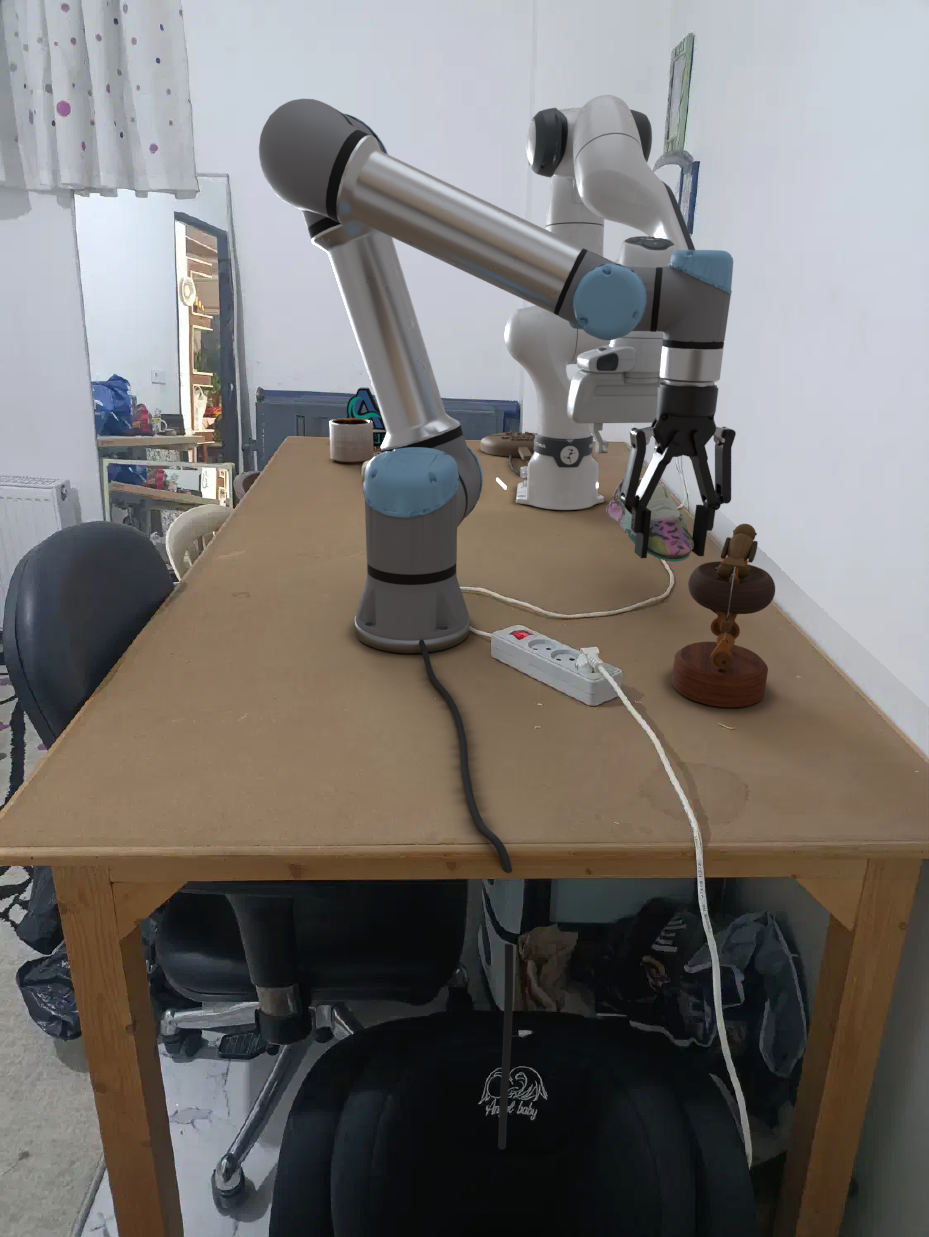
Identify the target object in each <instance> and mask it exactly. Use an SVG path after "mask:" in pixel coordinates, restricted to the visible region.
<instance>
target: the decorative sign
mask: <svg viewBox="0 0 929 1237" xmlns="http://www.w3.org/2000/svg"><path fill="white" fill-rule="evenodd" d="M364 407H365V410H366V411H362V410H363V408H364ZM345 418H362V419H368V420H371V421H372V425H373V446H374V445H375V446H377V445H378V446H381V445H382V443H383V441H384V438H385V436H386V432H387V431H386V428H385V425H384V422H383V419H382V416H381V413H380V410H379V407H378V404H377V401H376V399H375V398H374V396H373V393H372V391H371V389H370V387H365V386H363V387H362V386H361V387H359V388H358V389H357V391H356V392H355V394H353V395H352V396H351V397H350V398H349V399H348V401H347V405H346V417H345ZM329 443H330V440H329Z"/></svg>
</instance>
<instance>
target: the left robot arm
mask: <svg viewBox="0 0 929 1237" xmlns="http://www.w3.org/2000/svg"><path fill="white" fill-rule="evenodd" d="M267 118H268V119H267V120H266V122H265V123H264V125H263V127H262V130H261V133H260V136H259V144H258V157H259V165H260V168H261V171H262V174H263V177H264V178H265V181H266V183H267V184H268V186H269V187H270V190H272V191H273V192H274V194H275V195H276V196H277V197H278V198H279V199H280V200H281V201H282V202H284V203H286V204H287V205H289V206H290V207H293V208H295V209H297V210H300V211H301V213H302V216H303V219H304V223H305V226H306V228H307V232H308V234H309V238H310V240H311V243H312V245H315V246H316V247H318V248H320V249H322V250H323V251H325V252H326V253H327V255H328V257H329V260H330V263H331V266H332V269H333V272H334V275H335V278H336V281H337V285H338V288H339V291H340V293H341V297H342V300H343V303H344V306H345V310H346V313H347V315H348V318H349V321H350V324H351V327H352V330H353V334H354V336H355V339H356V343H357V345H358V349H359V351H360V355H361V358H362V360H363V365H364V366H365V370H366V374H367V377H368V380H369V383H370V385H371V389H372V391H373V395H374V397H375V398H374V399H375V402H376V404H377V406H378V408H379V410H380V413H381V416H382V419H383V422H384V425H385V428H386V431H387V432H386V436H385V438H384V441H383V443H382V445H380V451H381V453H379V454H377V455H374V457H373V459H371V460H370V462H369V463H368V465H367V466H366V470H365V481H364V482H363V489H362V493H363V497H364V517H365V518H364V520H365V545H366V546H365V548H366V579H365V584H364V586H363V589H362V592H361V596H360V600H359V602H358V606H357V609H356V612H355V615H354V633H355V636H356V638H357V639H358V640H359V641H360V642H362V643H363V644H365V645H367V646H368V647H371V648H374V649H377V650H380V651H384V652H390V653H396V654H397V653H398V654H421V655H422V658H423V661H424V666H425V670H426V673H427V676H428V678H429V680H430V682H431V683H432V684H433V686H434V687H435V688H436V690H437V691H438V692H439V694H441V695H442V697H443V698H444V699H445V701H446V703H447V705H448V706H449V708H450V711H451V713H452V716H453V719H454V723H455V725H456V730H457V736H458V740H459V749H460V769H461V777H462V778H461V779H462V782H463V788H464V794H465V799H466V803H467V806H468V811H469V814H470V816H471V818H472V820H473V822H474V825H475V826H476V828H477V830H478V831H479V833H481V834H482V836H484V837H485V838H486V839H487V840H488V841H489V842H490V843H491V844H492V845H493V846H494V848H495V850H496V851H497V854H498V857H499V859H500V863H501V865H502V866H501V867H502V870H503V872H504V873H506V874H511V873H512V871H513V868H512V863H511V859H510V857H509V854H508V851H507V848H506V846H505V845H504V843H503V841H502V840H501V839H500V838H499V837H498V836H497V835H496V834H495V833H494V832H493V831H492V830H490V829H489V827H487V825H486V824H485V822H484V820H483V818H482V816H481V814H480V812H479V810H478V806H477V804H476V803H477V802H476V800H475V797H474V791H473V785H472V781H471V775H470V772H469V759H468V744H467V737H466V732H465V727H464V724H463V718H462V716H461V714H460V711H459V708H458V705H457V704H456V701H455V700H454V699H453V697H452V696H451V694H450V693H449V692H448V690H447V689H446V688H445V687H444V686H443V685H442V683H441V682H440V681H439V679H438V678H437V676H436V673H435V672H434V670H433V667H432V663H431V657H430V656H429V653H433V652H439V651H443V650H446V649H449V648H452V647H455V646H457V645H458V644H460V643H462V642H463V641H464V640H466V639H467V637H468V636H469V634H470V615H469V612H468V608H467V606H466V601H465V599H464V596H463V593H462V589H461V586H460V583H459V581H458V577H457V561H458V560H457V559H458V558H457V557H458V556H457V554H458V528H459V526H461V524H462V522H463V521H464V520H465V519H466V518H467V517H468V516H469V515H470V514H471V513H472V512H473V511H474V509H475V508H476V505H477V504H478V501H479V500H480V497H481V493H482V489H483V481H484V480H483V479H484V477H483V470H482V466H481V463H480V460H479V458H478V457H477V455H476V453H475V452H474V451H473V450H472V449H471V448H470V447H469V446H468V444H467V441H466V438H465V435H464V432H463V428H462V425H461V422H460V420H457V419H455V418H454V417H451V416H450V415H448V414H447V413H446V409H445V406H444V402H443V400H442V396H441V393H440V390H439V387H438V383H437V379H436V377H435V373H434V370H433V366H432V364H431V360H430V357H429V353H428V351H427V347H426V344H425V340H424V338H423V334H422V330H421V327H420V323H419V320H418V317H417V314H416V311H415V307H414V305H413V301H412V298H411V294H410V291H409V288H408V284H407V281H406V278H405V274H404V271H403V267H402V265H401V262H400V258H399V255H398V251H397V248H396V245H395V241H394V239H395V240H397V241H399V242H401V243H403V244H405V245H407V246H410V247H412V248H414V249H416V250H418V251H420V252H422V253H424V254H427V255H429V256H430V257H433V258H434V259H437V260H440V261H441V262H443V263H446V264H447V265H450V266H452V267H454V268H456V269H458V270H461V271H463V272H464V273H467V274H469V275H470V276H473V277H475V278H477V279H479V280H482V281H484V282H486V283H488V284H490V285H492V286H495V287H496V288H498V289H500V290H503V291H505V292H506V293H509V294H511V295H513V296H515V297H517V298H519V299H522V300H524V301H526V302H528V303H530V304H531V305H533V306H538V307H541V308H543V309H545V310H547V311H549V312H551V313H553V314H555V315H557V316H559V317H561V318H563V319H565V320H567V321H569V324H570V326H571V327H572V328H575V329H583V330H584V331H585V332H586V333H587V334H589V335H591V336H593V337H596V338H599V339H602V340H614V339H617V338H620V337H623V336H625V335H627V334H629V333H630V332H631V331H651V332H656V331H658V332H663V342H662V345H663V346H662V352H661V362H660V372H659V377H660V378H661V379H663V382H662V383H660V385H658V390H657V400H656V415H655V419H654V421H653V423H650V426H646V427H642V428H637V427H632V428H631V429H630V430H629V438H630V448H629V453H628V457H627V462H626V466H625V470H624V475H623V478H624V479H623V478H622V479H623V483H622V488H621V492H620V496H619V499H620V501H622V502H623V503H624V504H625V505H627V506H631V507H632V518H631V529H632V531H633V532H635V533H636V541H635V544H634V554H636V555H637V556H638V558H640V559H647V558H648V553H647V549H648V540H649V530H650V521H651V511H650V510H649V509H648V508H646V507H647V505H648V503H649V501H650V499H651V497H652V495H653V493H654V491H655V489H656V487H657V485H658V484H659V482H660V481H661V478H662V476H663V475H664V472H665V470H666V468H667V466H668V465H669V464H670V463H671V462H672V460H673V458H679V457H682V456H684V457H689V458H688V459H690V462H691V465H692V469H693V472H694V477H695V480H696V485H697V487H698V491H699V494H700V499H701V503H702V504H696V505H695V512H694V518H693V528H692V535H691V537H692V539H693V541H694V547H693V549H692V551H691V553H693V554H695V555H696V556H697V557H704V556H705V549H706V544H707V543H706V542H707V534H708V532H711V531H712V530H713V529H714V524H715V517H716V511H718V510H719V509H720V508H721V506H722V505H724V504H726V505H727V504H730V503H731V501H732V447H733V445H734V441H735V439H736V435H737V433H736V430H734V429H732V428H729V427H727V426H717V424H716V422H715V414H716V412H717V404H718V396H719V387H718V385H717V384H715V383H716V382H717V383H718V381H720V379H721V373H722V365H723V356H724V346H725V340H726V332H727V325H728V319H729V312H730V304H731V296H732V292H733V290H732V284H733V271H734V258H733V256H732V254H731V253H730V252H728V251H726V250H720V249H695V250H676V251H674V252H673V254H672V256H671V261H670V262H669V266H668V267H663V268H662V267H657V268H648V267H625V266H623V265H621V264H617V263H615V261H613V260H610V259H608V258H606V257H604V256H603V257H602V256H600V255H598V254H596V253H594V252H591V251H589V250H586V249H584V248H583V247H581V246H579V245H577V244H575V243H573V242H571V241H568V240H566V239H564V238H562V237H560V236H558V235H556V234H554V233H552V232H550V231H547V230H545V228H543V227H541V226H539V225H537V224H535V223H533V222H531V221H528V220H527V219H524V218H522V217H521V216H518V215H516V214H514V213H512V212H510V211H507V210H505V209H503V208H501V207H500V206H497V205H495V204H494V203H491V202H489V201H487V200H485V199H482V198H480V197H478V196H476V195H473V194H471V193H469V192H468V191H465V190H463V189H461V188H459V187H458V186H455V185H453V184H451V183H449V182H447V181H445V180H442V179H441V178H438V177H436V176H434V175H432V174H430V173H427V172H425V171H424V170H422V169H420V168H418V167H416V166H413V165H411V164H409V163H406V162H405V161H403V160H400V159H398V158H396V157H394V156H392V155H390V154H389V152H388V150H387V148H386V146H385V144H384V143H383V141H382V140H381V138H380V137H379V136H378V134H377V133H376V132H375V131H374V130H373V129H372V127H370V125H368V124H366V123H365V121H363V120H361V119H360V118H357V117H356V116H353V115H350V114H347V113H343V112H341V111H340V110H338V109H336V108H335V107H333V106H331V105H330V104H328V103H326V102H323V101H321V100H318V99H314V98H299V99H298V98H297V99H292V100H289V101H287V102H285V103H283V104H281V105H280V106H278V107H277V108H276V109H275V110H274V111H273V112H272V113H270V115H269V117H267ZM652 437H653V439H654V441H655V440H656V442H657V443H658V444H657V446H656V448H655V450H653V453H652V458H651V460H650V463H649V464H648V466H647V469H646V471H645V472H644V474H643V477H642V478H643V479H642V481H641V483H640V485H639V487H638V483H639V479H640V478H641V474H642V470H643V467H644V461H645V457H646V453H647V446H648V445H649V444H650V441H651V438H652ZM712 437H713V442H714V482H713V477H712V474H711V470H710V468H709V467H710V466H709V463H708V460H709V457H708V452H707V449H706V445H707V444H708V443H709V442H710V440H711V439H712ZM637 487H638V489H637ZM503 1000H504V1004H503V1006H504V1007H503V1010H504V1011H503V1032H502V1033H503V1035H502V1054H501V1055H502V1056H501V1072H500V1074H501V1075H500V1089H499V1090H500V1092H499V1109H498V1110H499V1113H498V1134H497V1135H498V1137H497V1138H498V1141H497V1147H498V1149H499V1150H505V1149H506V1146H507V1127H508V1126H507V1124H508V1105H509V1104H508V1103H509V1102H508V1101H509V1087H510V1073H511V1072H510V1071H511V1056H512V1055H511V1052H512V1036H513V1034H512V1033H513V1013H514V1012H513V1009H514V1008H513V1006H514V1005H513V1004H514V944H511V943H504V999H503Z"/></svg>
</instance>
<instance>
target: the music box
mask: <svg viewBox="0 0 929 1237" xmlns="http://www.w3.org/2000/svg"><path fill="white" fill-rule="evenodd" d="M757 535H758V534H757V532H756V529H755V528H754V526H752V525H751V524H749V523H740V524H739V525H737V526H736V527H735V528H734V529H733V530H732V536H731V537H730V536H727V537H726V538H725V541H724V543H723V547H722V550H721V553H720V559H722V560H720V561H719V560H718V561H717V560H716V561H709V562H705V563H702V564H700V565H698V566H697V567H695V569H694V570H692V572H691V574H690V576H689V578H688V583H687V585H688V591H689V594H690V596H691V598H692V599H693V600H694V601H695V602H696V603H697V604H698V605H700V606H702V607H703V608H705V609H708V610H709V611H711V612H712V613H714V614H715V615H716V616H717V617H716V618H714V619H713V620H712V621H711V622H710V631H711V633H712V634H713V635H714V636H716V639H715V641H699V642H693V643H689V644H687V645H685V646H684V647H682V648H681V649H679V650H677V651H676V653H674V659H673V665H672V674H671V684H672V687H673V688H674V689H675V691H677V692H678V693H679V694H680V695H682V696H683V697H685V698H687V699H689V700H692V701H694V702H696V703H700V704H703V705H706V706H707V705H708V706H713V707H719V708H720V707H721V708H743V707H748V706H752V705H755V704H757V703H759V702H760V701H761V700H762V699H763V698H764V695H765V690H766V685H767V678H768V672H769V667H768V664H767V663H766V661H764V659H763V658H761V656H760V655H759V654H757V653H756V652H755V651H752V650H750V649H748V648H746V647H743V646H741V645H738V644H737V645H736V644H735V643H736V639H737V638H739V635H740V633H741V629H740V626H739V624H738V623H737V622H736V619H737V617H738V616H737V615H748V614H756V613H758V612H760V611H762V610H764V609H766V608H767V607H768V606H769V605H770V604H771V603H772V601H773V600H774V597H775V595H776V584H775V580H774V579H773V577H772V576H771V575H770V573H769V572H768V571H766V570H764V568H763V569H762V568H761V567H758V566H755V565H752V563H753V562H754V560H755V557H756V554H757V550H758V540H755V539H756V537H757ZM749 563H750V564H749Z"/></svg>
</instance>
